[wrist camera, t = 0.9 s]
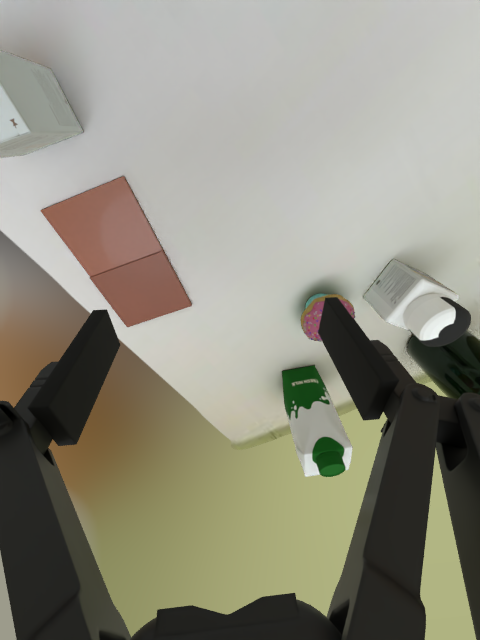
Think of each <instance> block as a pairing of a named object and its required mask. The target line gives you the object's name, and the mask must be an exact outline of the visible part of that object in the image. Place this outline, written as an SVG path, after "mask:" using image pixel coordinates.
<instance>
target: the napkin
mask: <svg viewBox="0 0 480 640" xmlns="http://www.w3.org/2000/svg"><path fill="white" fill-rule="evenodd" d="M41 212H42V213H43V215H44V216H45V217H46V219H47V220H48V221H49V223H50V224H51V225H52V227H53V228H54V229H55V231H56V232H57V233H58V235H59V236H60V237H61V239H62V240H63V241H64V243H65V244H66V245H67V246H68V248H69V249H70V250H71V252H72V253H73V254H74V256H75V257H76V258H77V260H78V261H79V262H80V264H81V265H82V266H83V268H84V269H85V270H86V272H87V273H88V274H89V276H90V279H91V280H92V281H93V283H94V284H95V285H96V287H97V288H98V289H99V291H100V292H101V293H102V295H103V296H104V297H105V299H106V300H107V301H108V303H109V304H110V305H111V307H112V308H113V309H114V310H115V312H116V313H117V314H118V316H119V317H120V318H121V320H122V321H123V322H124V324H125V325H126V326H127V327H130V326H133V325H136V324H139V323H142V322H145V321H148V320H151V319H154V318H157V317H160V316H163V315H166V314H169V313H172V312H175V311H178V310H181V309H184V308H187V307H190V306H192V303H191V302H190V300H189V298H188V296H187V294H186V292H185V290H184V288H183V286H182V285H181V283H180V281H179V279H178V277H177V275H176V273H175V271H174V269H173V268H172V266H171V264H170V262H169V260H168V258H167V256H166V254H165V252H164V251H163V249H162V247H161V245H160V243H159V241H158V239H157V237H156V236H155V234H154V232H153V230H152V228H151V226H150V224H149V222H148V220H147V219H146V217H145V215H144V213H143V211H142V209H141V207H140V205H139V203H138V202H137V200H136V198H135V196H134V194H133V192H132V190H131V188H130V186H129V185H128V183H127V181H126V179H125V177H124V176H123V177H120V178H118V179H115V180H113V181H111V182H108V183H106V184H103V185H101V186H98V187H96V188H94V189H91V190H89V191H86V192H84V193H82V194H79V195H77V196H74V197H72V198H69V199H67V200H65V201H62V202H60V203H57V204H55V205H53V206H50V207H48V208H45V209H43V210H41Z"/></svg>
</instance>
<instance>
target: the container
mask: <svg viewBox="0 0 480 640" xmlns="http://www.w3.org/2000/svg"><path fill="white" fill-rule="evenodd" d="M458 298H459V295H458V294H456V293H455V292H453V291H452V290H450V289H449V288H447V287H445V286H444V285H442V284H441V283H439V282H438V281H436V280H435V279H433V278H432V277H430V276H429V275H427V274H425V273H423V272H421V271H419V270H417V269H414V268H412V267H410V266H408V265H406V264H404V263H402V262H400V261H397V260H395V259H393V260H392V261H391V262H390V263H389V264H388V266H387V267H386V268H385V270H384V271H383V272H382V273H381V275H380V276H379V277H378V278H377V280H376V281H375V282H374V284H373V285H372V286H371V287H370V289H369V290H368V291H367V293H366V294H365V295H364V299H365V300H366V301H367V302H368V303H369V304H370V305H371V306H372V308H373V309H374V310H375V311H376V312H377V313H378V314H379V315H380V316H381V317H382V318H383V319H384V321H385V322H387V323H390V324H392V325H395V326H398V327H401V328H403V329H406V330H409V331H410V332H411V333H412V334H413V335H414V336H415V337H416V338H417V339H418V340H419V341H420V342H421V343H422V344H424V345H426V346H430V347H440V346H444V345H447V344H449V343H451V342H453V341H455V340H457V339H458V338H459V337H461V336H462V335H463V334H464V333H465V332H466V330H467V329H468V327H469V325H470V322H471V315H470V313H469V312H468V311H467V310H466V309H465V308H463V307H462V306H460V305H459V304H457V303H456V302H455V301H456V300H457V299H458Z"/></svg>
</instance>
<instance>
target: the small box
mask: <svg viewBox="0 0 480 640" xmlns="http://www.w3.org/2000/svg"><path fill="white" fill-rule="evenodd" d="M81 133H83V130H82V128H81V126H80V124H79V122H78V120H77V118H76V116H75V115H74V113H73V111H72V109H71V107H70V105H69V103H68V101H67V99H66V97H65V95H64V93H63V92H62V90H61V88H60V86H59V84H58V82H57V80H56V78H55V76H54V74H53V72H52V70H51V69H50V68H48V67H45V66H42V65H40V64H37V63H34V62H32V61H29V60H26V59H24V58H21V57H19V56H16V55H13V54H11V53H8V52H5V51H3V50H0V158H4V157H14V156H22V155H26V154H29V153H31V152H34V151H36V150H39V149H42V148H44V147H47V146H49V145H52V144H55V143H57V142H60V141H62V140H65V139H68V138H70V137H73V136H76V135H78V134H81Z"/></svg>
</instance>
